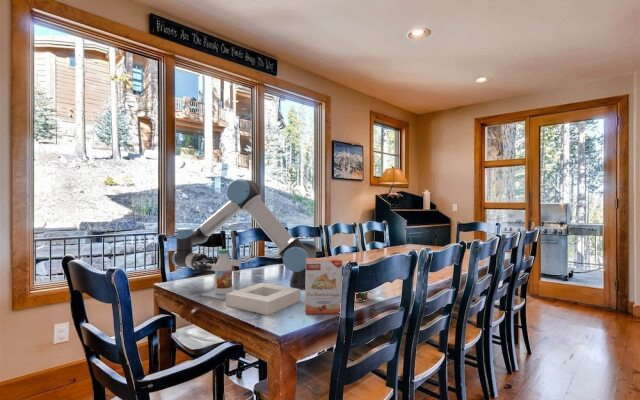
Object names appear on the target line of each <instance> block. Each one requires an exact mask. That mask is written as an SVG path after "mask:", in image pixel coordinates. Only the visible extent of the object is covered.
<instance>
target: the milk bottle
mask: <svg viewBox="0 0 640 400" xmlns="http://www.w3.org/2000/svg"><path fill="white" fill-rule="evenodd" d="M229 255H230V249H228V248H221V249H218V258H219V259H218V261H217V263H216V265H218V271H214V290H215V293H216V294H226V293H230V292H232V289H233V265H232V264H231V262H230V260H229V258H230V256H229Z"/></svg>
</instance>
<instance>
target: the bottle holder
mask: <svg viewBox="0 0 640 400" xmlns="http://www.w3.org/2000/svg"><path fill="white" fill-rule="evenodd" d="M235 290H236V291H233V292H230V293H226V299H225V301H226V303H225V305H226V307H231V308H235V309H240V310H245V311H248V312H251V313H252V312H253V313H258V314H261V315H266V316H269V315H271V314H273V313H275V312H278V311H281V310H283V309H286V307H287V308H288V307H290V306H292V305H293V304H297V302H300V301H301V289H297V288H293V287H291V286H284V285H283V286H282V285H278V284H271V283H266V282H259V283H256V284H252V285H249V286H246V287H243V288H240V289H235Z"/></svg>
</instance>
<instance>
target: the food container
mask: <svg viewBox="0 0 640 400" xmlns="http://www.w3.org/2000/svg"><path fill="white" fill-rule="evenodd" d="M368 292H369V291H368ZM368 292H365V293H358V294H356V300H357V301H363V300H366V299H367V300H368Z"/></svg>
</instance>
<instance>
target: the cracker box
mask: <svg viewBox="0 0 640 400" xmlns="http://www.w3.org/2000/svg"><path fill="white" fill-rule="evenodd" d="M342 266H343V260H342V259H341V258H340V257H337V258H336V257H334V258H333V257H330V258H329V257H328V258H327V257H325V258H324V257H320V258H319V257H316V258H306V281H305V289H304V293H305V294H304V295H305V297H304V301H305V302H304V311H305V315H326V314H327V315H330V314H331V315H332V314H333V315H334V314H335V315H336V314H339V312H340V303H341V304H342V292H341V291H343V290H342V285H343V283H342ZM339 315H340V314H339Z"/></svg>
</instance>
